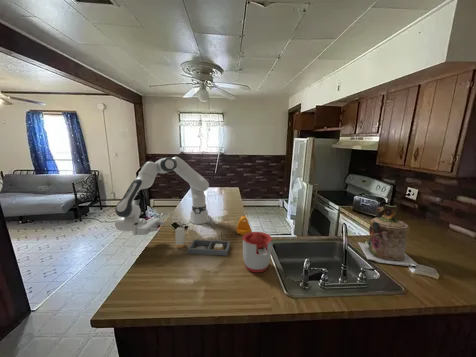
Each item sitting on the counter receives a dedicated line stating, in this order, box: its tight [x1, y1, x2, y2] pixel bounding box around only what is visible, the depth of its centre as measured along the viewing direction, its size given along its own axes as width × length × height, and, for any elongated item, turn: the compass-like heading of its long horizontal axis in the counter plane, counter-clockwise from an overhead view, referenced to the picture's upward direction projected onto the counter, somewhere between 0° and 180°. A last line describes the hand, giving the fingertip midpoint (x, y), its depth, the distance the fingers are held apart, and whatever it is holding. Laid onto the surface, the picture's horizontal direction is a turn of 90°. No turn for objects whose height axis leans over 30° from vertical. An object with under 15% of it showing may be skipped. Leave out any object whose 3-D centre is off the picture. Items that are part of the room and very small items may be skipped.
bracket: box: [235, 215, 253, 236], centre depth 161 cm, size 11×7×12 cm, turn 98°
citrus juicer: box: [242, 231, 273, 273], centre depth 114 cm, size 16×17×20 cm
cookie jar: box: [357, 204, 419, 267], centre depth 128 cm, size 25×25×32 cm
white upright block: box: [174, 226, 186, 249], centre depth 139 cm, size 6×6×12 cm
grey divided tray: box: [187, 239, 231, 257], centre depth 135 cm, size 13×24×3 cm, turn 85°
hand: (161, 226), depth 139 cm, fingers open, 8 cm apart
